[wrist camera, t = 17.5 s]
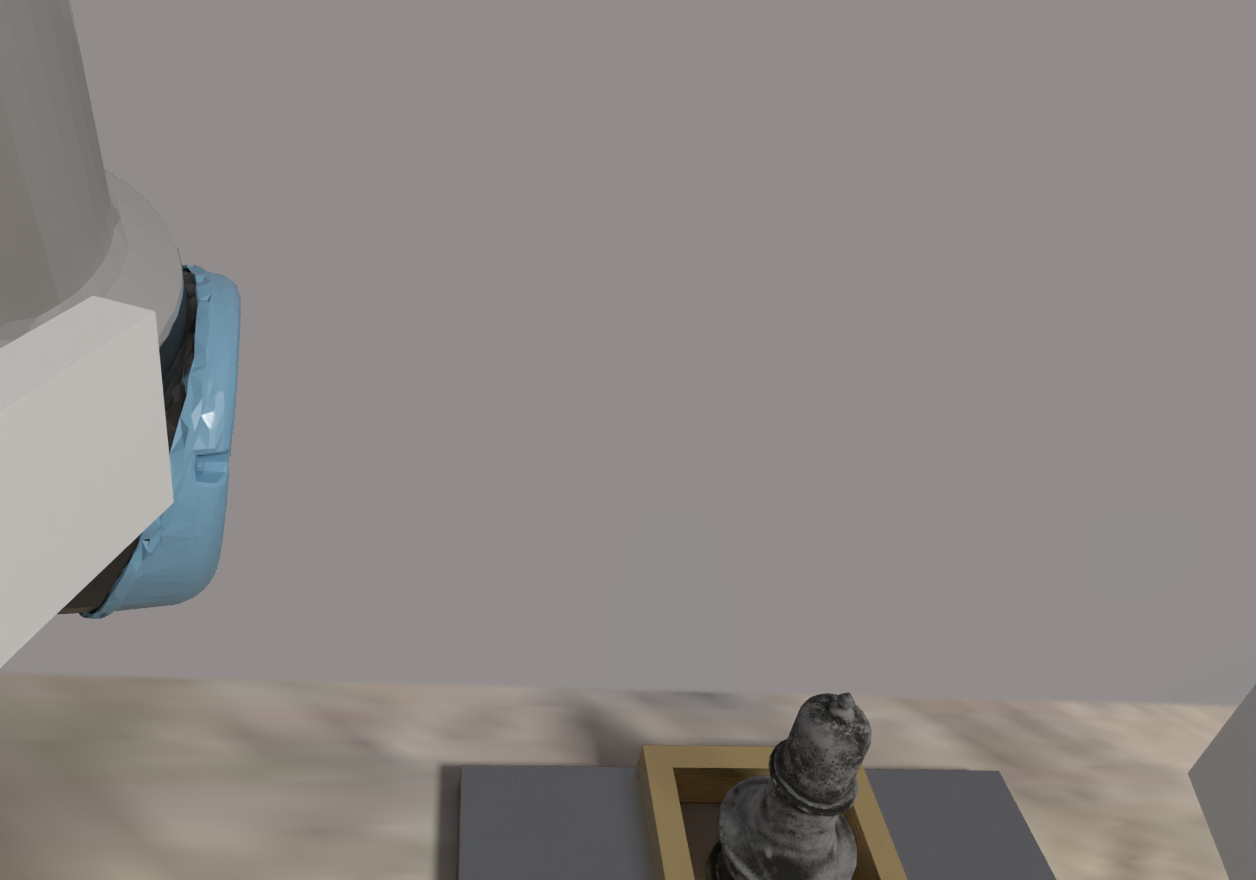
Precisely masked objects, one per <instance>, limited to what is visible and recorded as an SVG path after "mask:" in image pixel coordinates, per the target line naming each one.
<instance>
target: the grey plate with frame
mask: <svg viewBox="0 0 1256 880" xmlns="http://www.w3.org/2000/svg"><path fill="white" fill-rule="evenodd" d="M773 749H774V747H744V746H677V745H643V746H642V750H641V753H640V757H639V760H638V764H637V767H565V766H464V765H462V767H461V774H460V782H459V820H458V861H457V880H695V879H694V874H693V868H692V863H691V858H690V853H689V848H688V843H687V838H686V833H685V827H684V822H683V817H682V812H681V807H680V803H722V801H723V799H724V798H725V796H726V794H727V792H728V791H729V790H730V789H732V788H733V787H734V786H735V785H736V784H737V783H739V782H741V781H743V780H745V779H748V778H750V777H752V776H759V775H767V774H770V772H769V758H770V755H771V753H772V751H773ZM856 778H857V781H858V795H857V798H856V800H855V803H854V804H853V806H852V807H851V808H850V809H849V810H848V811H846V812H844V813H842V814H843V815H844V817H845V818H846V820H847V822H848V824H849V826H850V828H851V830H852V832H853V835H854V839H855V843H856V847H857V861H856V868H855V870H854V873H853V875H852V878H851V880H1056V878H1055V876H1054V874H1053V872H1052V871H1051V869H1050V867H1049V865H1048V863H1047V861H1046V859H1045V857H1044V855H1043V854H1042V852H1041V850H1040V848H1039V846H1038V844H1037V842H1036V840H1035V838H1034V836H1033V835H1032V833H1031V831H1030V829H1029V827H1028V825H1027V823H1026V821H1025V819H1024V818H1023V816H1022V814H1021V812H1020V810H1019V808H1018V806H1017V804H1016V802H1015V801H1014V799H1013V797H1012V795H1011V793H1010V791H1009V789H1008V787H1007V785H1006V784H1005V782H1004V780H1003V778H1002V776H1001V774H1000V772H999V771H966V770H866V769H864V767H863V765H862V764H861V766H860V768H859V770H858V772H857V774H856Z"/></svg>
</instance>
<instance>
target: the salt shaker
mask: <svg viewBox="0 0 1256 880" xmlns="http://www.w3.org/2000/svg"><path fill="white" fill-rule="evenodd" d="M870 744H871V727H870V724H869V722H868V719H867V718H866V716H865V714H864V713H863V711H862V710H861V709H860V708H859V707H858V706H857V705H856V704H855V701H854V699H853V697H852V696H851V694H850V693H843V694H840V695H836V694H829V693H827V694H819V695H816V696H813V697H811V698H809V699H808V700H807V701H806V702H805V703H804V704H803V705H802V706H801V708H800V710H799V712H798V715H797V717H796V720H795V722H794V724H793V727H792V729H791V732H790V734H789V737H788V739H786V740H784V741H781V742H780V743H779V744H778V745H777V746H776V747H774V749H773V751H772V753H771V755H770V758H769V772H770V774H767V775H759V776H752V777H750V778H748V779H745V780H743V781H741V782H739V783H737V784H736V785H735V786H734V787H733V788H732V789H730V790H729V791H728V792H727V794H726V796H725V798H724V799H723V801H722V803H721V805H720V809H719V814H718V819H717V823H718V833H719V839H720V841H719V842H718V843H716V844H715V846H714V848H713V850H712V852H711V853H710V855H709V858H708V863H707V868H706V879H707V880H851V878H852V875H853V873H854V870H855V868H856V861H857V847H856V843H855V839H854V835H853V832H852V830H851V828H850V826H849V824H848V822H847V820H846V818H845V817H844V815H843V814H842V813H844V812H846V811H848V810H849V809H850V808H851V807H852V806H853V804H854V803H855V800H856V798H857V795H858V781H857V778H856V774H857V772H858V770H859V768H860V766H861V764H862V761H863V759H864V757H865V755H866V753H867V751H868V749H869V746H870Z"/></svg>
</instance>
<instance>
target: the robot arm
mask: <svg viewBox="0 0 1256 880" xmlns="http://www.w3.org/2000/svg"><path fill="white" fill-rule="evenodd" d="M239 339H240V295H239V291H238V288H237V286H236V285H235V284H234V282H232V281H231V280H230V279H228V278H227V277H226V276H224V275H221V274H216V273H211V272H206V271H205V270H204V269H203V268H201V267H197V266H195V265H194V266H190V265H183V266H182V264H181V259H180V256H179V252H178V249H177V247H176V243H175V239H174V236H173V233H172V232H171V230H170V228H169V227H168V225H167V224H166V222H165V220H164V218H163V217H162V215H161V214H160V213H159V212H158V211H157V210H156V209H155V208H154V206H153V205H152V204H151V203H150V202H149V201H148V200H147V199H146V198H145V197H144V196H143V195H141V194H140V193H139V192H138V191H137V190H136V189H134V188H133V187H132V186H131V185H129V184H128V183H126V182H125V181H123V180H122V179H120V178H119V177H117V176H116V175H114V174H113V173H111V172H109V171H107V170H105V169H104V166H103V160H102V156H101V151H100V146H99V141H98V136H97V131H96V126H95V121H94V116H93V112H92V107H91V102H90V97H89V92H88V87H87V82H86V77H85V73H84V67H83V62H82V57H81V53H80V48H79V43H78V38H77V33H76V28H75V23H74V18H73V13H72V8H71V3H70V0H0V668H1V667H2V666H3V665H4V664H5V663H6V662H7V661H8V660H9V659H10V658H11V657H12V656H13V655H14V654H15V653H16V652H17V651H18V650H19V649H21V648H22V646H24V645H25V644H26V643H27V642H28V641H29V640H30V639H31V638H32V637H33V636H34V635H35V634H36V633H37V632H38V631H39V630H40V629H41V628H43V627H44V626H45V625H46V624H47V623H48V622H49V621H50V620H51V619H52V618H53V617H54V616H55V615H56V614H69V613H79V614H80V615H81V616H82V617H84V618H92V619H94V618H95V619H96V618H103V617H105V616H108V615H109V614H111V613H112V612H114V611H121V610H130V609H140V608H148V607H158V606H167V605H175V604H179V603H182V602H184V601H187V600H189V599H191V598H193V597H195V596H196V595H197V594H199V593H200V592H201V591H202V590H204V588H205V587H206V586H207V585H208V584H209V583H210V581H211V580H212V578H213V576H214V574H215V572H216V569H217V566H218V562H219V557H220V552H221V546H222V539H223V531H224V523H225V514H226V513H225V512H226V504H227V492H228V479H229V466H228V462H229V457H230V455H231V441H232V433H233V428H234V417H235V404H236V390H237V376H238V359H239V341H240V340H239ZM1188 775H1189V778H1190V780H1191V783H1192V785H1193V788H1194V790H1195V793H1196V796H1197V798H1198V801H1199V803H1200V806H1201V808H1202V811H1203V813H1204V816H1205V818H1206V821H1207V824H1208V826H1209V829H1210V831H1211V834H1212V836H1213V839H1214V841H1215V844H1216V847H1217V849H1218V852H1219V854H1220V857H1221V859H1222V862H1223V864H1224V867H1225V870H1226V872H1227V875H1228V877H1229V880H1256V684H1255V686H1254V687H1253V688H1252V690H1251V691H1250V692H1249V694H1248V695H1247V696H1246V697H1245V699H1244V700H1243V701H1242V703H1241V704H1240V705H1239V707H1238V708H1237V709H1236V711H1235V712H1234V713H1233V714H1232V716H1231V717H1230V718H1229V720H1228V721H1227V722H1226V724H1225V725H1224V726H1223V728H1222V729H1221V730H1220V732H1219V733H1218V734H1217V736H1216V737H1215V738H1214V739H1213V741H1212V742H1211V743H1210V745H1209V746H1208V747H1207V749H1206V750H1205V751H1204V753H1203V754H1202V755H1201V757H1200V758H1199V759H1198V760H1197V762H1196V763H1195V764H1194V766H1193V767H1192V768H1191V770H1190V771H1189V772H1188Z"/></svg>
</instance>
